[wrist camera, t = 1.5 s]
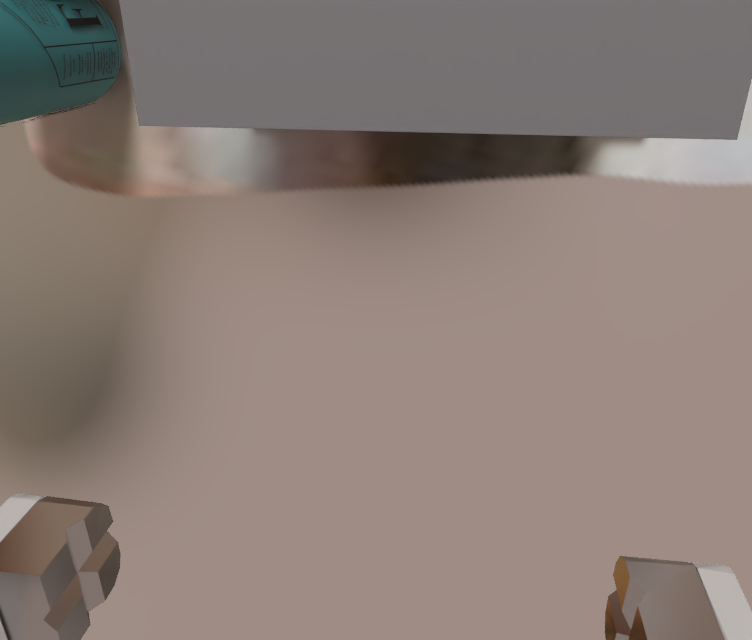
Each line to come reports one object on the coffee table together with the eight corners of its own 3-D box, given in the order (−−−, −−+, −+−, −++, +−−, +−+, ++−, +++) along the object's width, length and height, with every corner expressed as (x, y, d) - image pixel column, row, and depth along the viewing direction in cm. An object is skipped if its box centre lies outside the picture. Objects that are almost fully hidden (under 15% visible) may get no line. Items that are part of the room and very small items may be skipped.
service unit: (693, -116, 30) (928, -253, 14) (653, 109, 34) (797, 194, 18) (238, -104, 32) (15, -206, 17) (255, 101, 37) (90, 170, 21)
